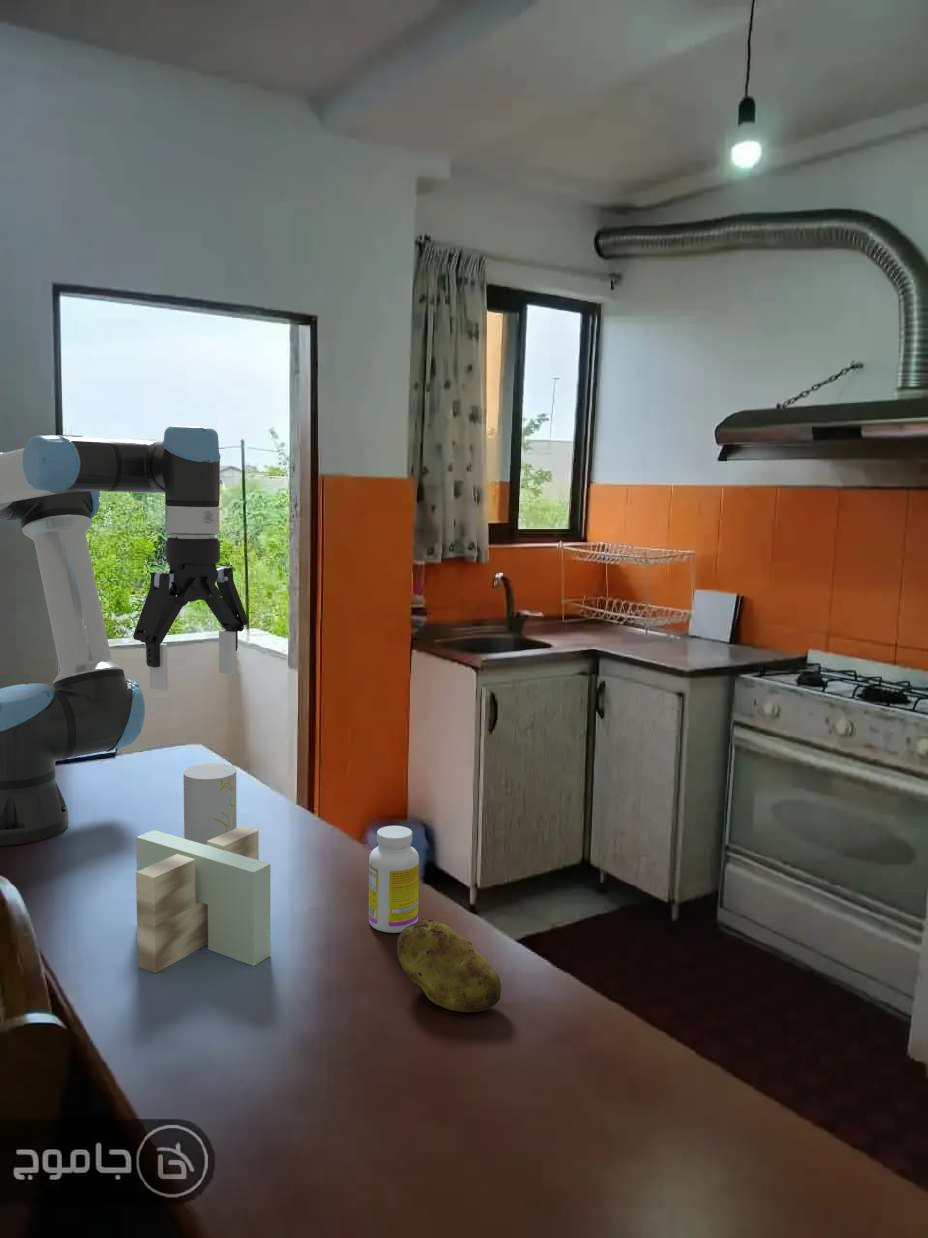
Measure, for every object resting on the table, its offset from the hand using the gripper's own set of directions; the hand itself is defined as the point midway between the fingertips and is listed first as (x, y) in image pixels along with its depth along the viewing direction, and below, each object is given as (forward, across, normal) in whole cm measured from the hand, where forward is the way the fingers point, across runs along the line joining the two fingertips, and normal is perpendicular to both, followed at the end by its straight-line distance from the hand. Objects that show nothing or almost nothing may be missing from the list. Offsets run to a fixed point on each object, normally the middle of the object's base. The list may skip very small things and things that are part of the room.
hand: (194, 681), depth 137 cm
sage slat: (+29, -16, -17) cm, 37 cm away
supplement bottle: (+29, +1, -35) cm, 45 cm away
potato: (+29, -11, -50) cm, 59 cm away
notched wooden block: (+29, -16, -17) cm, 37 cm away
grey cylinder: (+29, +8, +5) cm, 30 cm away
